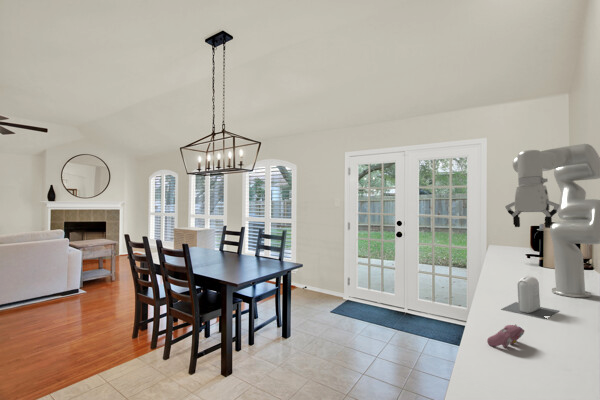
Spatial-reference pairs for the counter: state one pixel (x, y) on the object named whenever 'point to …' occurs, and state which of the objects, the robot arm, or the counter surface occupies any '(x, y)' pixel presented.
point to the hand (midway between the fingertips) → (532, 227)
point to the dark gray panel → (538, 313)
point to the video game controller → (506, 336)
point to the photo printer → (528, 294)
